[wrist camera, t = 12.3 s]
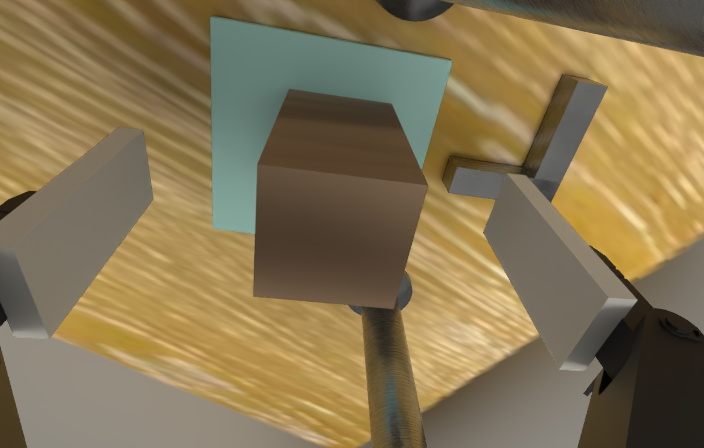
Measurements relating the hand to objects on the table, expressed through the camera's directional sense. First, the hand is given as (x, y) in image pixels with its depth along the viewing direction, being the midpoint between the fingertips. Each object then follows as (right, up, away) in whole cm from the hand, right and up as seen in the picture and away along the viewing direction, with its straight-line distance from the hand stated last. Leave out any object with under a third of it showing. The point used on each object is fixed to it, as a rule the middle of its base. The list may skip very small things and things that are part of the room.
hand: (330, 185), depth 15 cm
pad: (-1, +3, +6) cm, 7 cm away
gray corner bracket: (+9, +3, +6) cm, 12 cm away
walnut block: (0, +3, +6) cm, 6 cm away
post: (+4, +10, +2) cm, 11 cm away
